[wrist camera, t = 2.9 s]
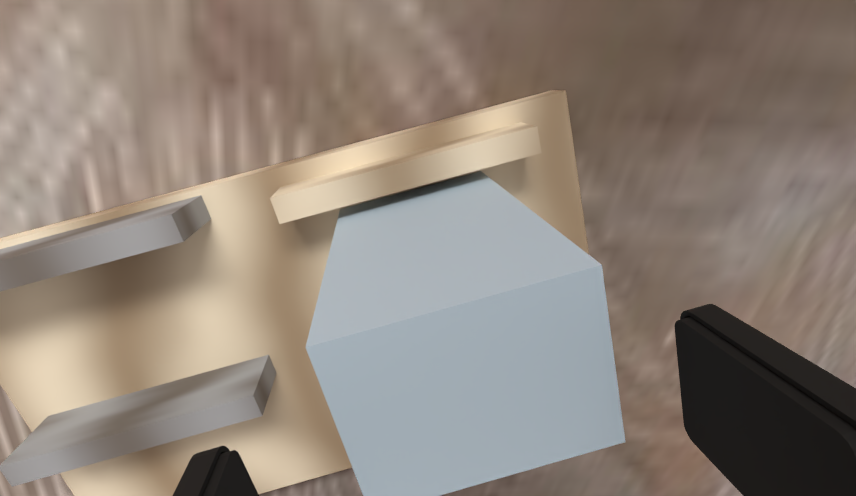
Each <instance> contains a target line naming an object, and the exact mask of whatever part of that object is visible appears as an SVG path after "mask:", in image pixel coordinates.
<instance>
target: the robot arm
mask: <svg viewBox="0 0 856 496" xmlns="http://www.w3.org/2000/svg"><path fill="white" fill-rule="evenodd" d="M675 335H676V345H677V356H678V367H679V377H680V388H681V399H682V409H683V420H684V427H685V429H686V432H687V434H688V436H689V437H690V439H691V440H692V442H693V443H694V444H695V445H696V446H697V447H698V448H699V449H700V450H701V451H702V452H703V453H704V454H705V456H706V457H707V458H708V459H709V460H710V461H711V462H712V463H713V464H714V465H715V466H716V467H717V468H718V469H719V470H720V471H721V472H722V473H723V475H724V476H725V477H726V478H727V479H728V480H729V481H730V482H731V483H732V484H733V485H734V486H735V487H736V488H737V489H738V490H739V491H740V492H741V494H742V495H743V496H856V388H854V387H852V386H851V385H849V384H847V383H846V382H844V381H842V380H840V379H839V378H837V377H835V376H834V375H832V374H830V373H829V372H827V371H825V370H824V369H822V368H820V367H819V366H817V365H815V364H814V363H812V362H810V361H808V360H807V359H805V358H803V357H802V356H800V355H798V354H797V353H795V352H793V351H792V350H790V349H788V348H787V347H785V346H783V345H782V344H780V343H778V342H776V341H775V340H773V339H771V338H770V337H768V336H766V335H765V334H763V333H761V332H760V331H758V330H756V329H755V328H753V327H751V326H750V325H748V324H746V323H744V322H743V321H741V320H739V319H738V318H736V317H734V316H733V315H731V314H729V313H728V312H726V311H724V310H723V309H721V308H719V307H717V306H716V305H713V304H707V305H704V306H700V307H697V308H694V309H690V310H687V311H684V312H683V313H682V314H681V317H680V320H678V321H677V322H676V323H675ZM173 496H259V495H258V492H257V490H256V488H255V486H254V484H253V482H252V480H251V478H250V475H249V473H248V471H247V469H246V467H245V465H244V463H243V461H242V459H241V456H240V455H239V453H238V452H237V451H236V450H232V451H230V450H229V449H228V448H227V447H226V446H219V447H216V448H213V449H209V450H206V451H202V452H199V453H196V454H194V455H193V456H192V458H191V459H190V461H189V463H188V465H187V467H186V469H185V471H184V473H183V475H182V477H181V479H180V481H179V483H178V486H177V488H176V490H175V492H174V494H173Z"/></svg>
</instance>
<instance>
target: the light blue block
mask: <svg viewBox="0 0 856 496" xmlns="http://www.w3.org/2000/svg"><path fill="white" fill-rule="evenodd" d="M306 350H307V353H308V355H309V358H310V360H311V363H312V365H313V368H314V371H315V373H316V376H317V378H318V381H319V383H320V386H321V388H322V391H323V394H324V396H325V399H326V401H327V404H328V406H329V409H330V412H331V414H332V417H333V419H334V422H335V424H336V427H337V429H338V432H339V435H340V437H341V440H342V442H343V445H344V447H345V450H346V453H347V455H348V458H349V460H350V463H351V465H352V468H353V471H354V473H355V476H356V478H357V481H358V483H359V486H360V488H361V491H362V494H363V496H440V495H444V494H447V493H450V492H454V491H457V490H461V489H464V488H468V487H471V486H475V485H478V484H482V483H485V482H489V481H492V480H496V479H499V478H502V477H506V476H509V475H513V474H516V473H520V472H523V471H527V470H530V469H534V468H537V467H541V466H544V465H547V464H551V463H554V462H558V461H561V460H565V459H568V458H572V457H575V456H579V455H582V454H586V453H589V452H593V451H596V450H599V449H603V448H606V447H610V446H613V445H617V444H620V443H624V442H625V436H624V428H623V421H622V413H621V406H620V398H619V391H618V383H617V375H616V368H615V360H614V353H613V345H612V338H611V330H610V323H609V315H608V308H607V300H606V293H605V285H604V278H603V270H602V265H601V264H600V263H599V262H598V261H596V260H595V259H594V258H592V257H591V256H590V255H588V254H587V253H586V252H585V251H583V250H582V249H581V248H579V247H578V246H577V245H576V244H574V243H573V242H572V241H570V240H569V239H568V238H567V237H565V236H564V235H563V234H561V233H560V232H559V231H558V230H556V229H555V228H554V227H552V226H551V225H550V224H548V223H547V222H546V221H545V220H543V219H542V218H541V217H539V216H538V215H537V214H536V213H534V212H533V211H532V210H530V209H529V208H528V207H527V206H525V205H524V204H523V203H521V202H520V201H519V200H518V199H516V198H515V197H514V196H512V195H511V194H510V193H509V192H507V191H506V190H505V189H503V188H502V187H501V186H499V185H498V184H497V183H496V182H494V181H493V180H492V179H490V178H489V177H488V176H487V175H485V174H484V173H483V172H481V171H479V172H476V173H472V174H468V175H465V176H461V177H457V178H454V179H450V180H446V181H443V182H439V183H435V184H431V185H428V186H424V187H420V188H417V189H413V190H409V191H406V192H402V193H398V194H395V195H391V196H387V197H384V198H380V199H376V200H373V201H369V202H365V203H362V204H358V205H354V206H350V207H347V208H343V209H340V212H339V216H338V220H337V223H336V227H335V231H334V235H333V239H332V243H331V247H330V251H329V255H328V259H327V263H326V267H325V271H324V275H323V279H322V283H321V287H320V291H319V295H318V299H317V303H316V307H315V311H314V315H313V319H312V323H311V327H310V331H309V335H308V339H307V343H306Z"/></svg>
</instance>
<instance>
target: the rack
mask: <svg viewBox="0 0 856 496" xmlns="http://www.w3.org/2000/svg"><path fill="white" fill-rule="evenodd" d="M479 171H481V172H483V173H484V174H485V175H487V176H488V177H489V178H490V179H492V180H493V181H494V182H496V183H497V184H498V185H499V186H501V187H502V188H503V189H505V190H506V191H507V192H509V193H510V194H511V195H512V196H514V197H515V198H516V199H518V200H519V201H520V202H521V203H523V204H524V205H525V206H527V207H528V208H529V209H530V210H532V211H533V212H534V213H536V214H537V215H538V216H539V217H541V218H542V219H543V220H545V221H546V222H547V223H548V224H550V225H551V226H552V227H554V228H555V229H556V230H558V231H559V232H560V233H561V234H563V235H564V236H565V237H567V238H568V239H569V240H570V241H572V242H573V243H574V244H576V245H577V246H578V247H579V248H581V249H582V250H583V251H585V252H586V253H587V254H588V255H589V251H588V244H587V237H586V230H585V223H584V216H583V209H582V202H581V194H580V187H579V180H578V173H577V166H576V159H575V152H574V145H573V138H572V131H571V124H570V117H569V110H568V103H567V96H566V90H551V91H547V92H544V93H540V94H536V95H533V96H529V97H525V98H521V99H518V100H514V101H510V102H506V103H503V104H499V105H495V106H492V107H488V108H484V109H480V110H477V111H473V112H469V113H465V114H462V115H458V116H454V117H451V118H447V119H443V120H439V121H436V122H432V123H428V124H424V125H421V126H417V127H413V128H410V129H406V130H402V131H398V132H395V133H391V134H387V135H383V136H380V137H376V138H372V139H369V140H365V141H361V142H357V143H354V144H350V145H346V146H342V147H339V148H335V149H331V150H328V151H324V152H320V153H316V154H313V155H309V156H305V157H301V158H298V159H294V160H290V161H287V162H283V163H279V164H275V165H272V166H268V167H264V168H260V169H257V170H253V171H249V172H246V173H242V174H238V175H234V176H231V177H227V178H223V179H219V180H216V181H212V182H208V183H205V184H201V185H197V186H193V187H190V188H186V189H182V190H178V191H175V192H171V193H167V194H164V195H160V196H156V197H152V198H149V199H145V200H141V201H137V202H134V203H130V204H126V205H123V206H119V207H115V208H111V209H108V210H104V211H100V212H96V213H93V214H89V215H85V216H82V217H78V218H74V219H70V220H67V221H63V222H59V223H55V224H52V225H48V226H44V227H41V228H37V229H33V230H29V231H26V232H22V233H18V234H14V235H11V236H7V237H3V238H0V385H1V386H2V388H3V389H4V391H5V392H6V394H7V395H8V397H9V398H10V400H11V401H12V403H13V404H14V406H15V407H16V409H17V410H18V412H19V413H20V415H21V416H22V418H23V419H24V421H25V422H26V424H27V425H28V427H29V428H30V430H31V431H32V433H31V434H30V435H29V436H28V437H27V438H26V439H25V440H24V441H23V442H22V443H21V444H20V445H19V446H18V447H17V448H16V449H15V450H14V451H13V452H12V453H11V454H10V455H9V456H8V457H7V458H6V459H5V461H4V462H3V463H2V464H1V465H0V470H1V472H2V473H3V475H4V476H5V477H6V479H7V480H8V482H9V483H10V484H11V486H16V485H19V484H23V483H26V482H30V481H34V480H37V479H41V478H44V477H48V476H51V475H55V474H58V473H60V475H61V476H62V478H63V479H64V481H65V482H66V484H67V485H68V487H69V488H70V490H71V491H72V493H73V494H74V496H173V494H174V492H175V490H176V488H177V486H178V483H179V481H180V479H181V477H182V475H183V473H184V471H185V469H186V467H187V465H188V463H189V461H190V459H191V458H192V456H193V455H194V454H196V453H199V452H202V451H206V450H209V449H213V448H216V447H219V446H226V447H227V448H228V449H229V450H230V451H232V450H236V451H237V452H238V453H239V455H240V456H241V459H242V461H243V463H244V465H245V467H246V469H247V471H248V473H249V475H250V478H251V480H252V482H253V484H254V486H255V488H256V490H257V492H258V494H261V493H265V492H268V491H272V490H275V489H279V488H282V487H286V486H289V485H293V484H296V483H300V482H303V481H307V480H310V479H314V478H317V477H321V476H324V475H328V474H331V473H335V472H338V471H342V470H345V469H349V468H352V465H351V463H350V460H349V458H348V455H347V453H346V450H345V447H344V445H343V442H342V440H341V437H340V435H339V432H338V429H337V427H336V424H335V422H334V419H333V417H332V414H331V412H330V409H329V406H328V404H327V401H326V399H325V396H324V394H323V391H322V388H321V386H320V383H319V381H318V378H317V376H316V373H315V371H314V368H313V365H312V363H311V360H310V358H309V355H308V353H307V350H306V343H307V339H308V335H309V331H310V327H311V323H312V319H313V315H314V311H315V307H316V303H317V299H318V295H319V291H320V287H321V283H322V279H323V275H324V271H325V267H326V263H327V259H328V255H329V251H330V247H331V243H332V239H333V235H334V231H335V227H336V223H337V220H338V216H339V212H340V209H343V208H347V207H350V206H354V205H358V204H362V203H365V202H369V201H373V200H376V199H380V198H384V197H387V196H391V195H395V194H398V193H402V192H406V191H409V190H413V189H417V188H420V187H424V186H428V185H431V184H435V183H439V182H443V181H446V180H450V179H454V178H457V177H461V176H465V175H468V174H472V173H476V172H479Z"/></svg>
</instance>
